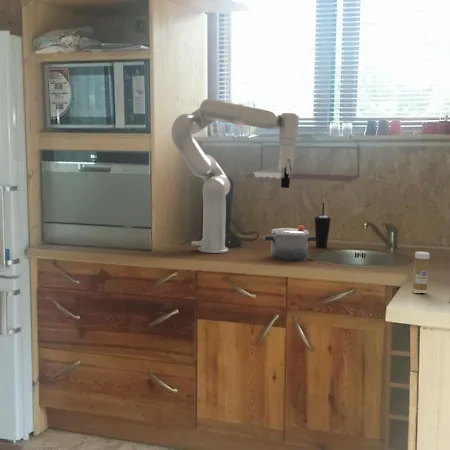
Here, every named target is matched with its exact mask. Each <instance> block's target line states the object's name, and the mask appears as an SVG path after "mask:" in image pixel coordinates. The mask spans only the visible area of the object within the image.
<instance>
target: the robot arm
mask: <svg viewBox="0 0 450 450" xmlns="http://www.w3.org/2000/svg"><path fill="white" fill-rule="evenodd" d="M216 121H217V122H222V123H227V124H231V125H239V126H240V125H243V126H248V127H249V126H250V127H253V128H254V127H255V128H260V129H265V130H277V129H279V133H278V135H279V136H278V146H279V147H280V150H279V156H278V167H277V168H278V170H280V171H281V178H280V179H281V181H280V188H281V189H282V188H283V189H285V188H286V189H289V188H290V183H291V182H290V180H291V176H290V175H291V174H290V173H291V172H292V171H293V169H294V160H295V159H294V158H295V157H294V155H295V148H297V147H298V136H299V123H300V116H299V114H298V112H293V111H282V112H280V111H275V110H271V109H264V108H260V107H259V108H258V107H254V106H249V105H244V104H242V103H237V102H230V101H226V100H220V99H214V98H206V99H204V100H202V102H201V104H200V105H199V108H198V109H196V110H194V111H193V112H191V113H184V114H180V115H178V117H176V119H175V120H174V121H173V123H172V127H171V133H170V134H171V139H172V142H173V144H174V146H175V148H176V149H177V151H178V152H179V154H180V155H181V157H182V159H183V160H184V162H185V163H186V164H187V166H188V168H189V170H190V171H191V173H192V174H193V176H195V177H197V178H201V180H202V181H203V185H202V201H203V202H202V203H203V205H202V207H203V209H202V213H203V214H202V215H203V217H202V239H201V240H196V241H193V240H191V246H192V247H198V251H199V252H202V253H208V254H222V253H228V252H229V248H228V247H226V221H227V219H226V217H227V214H226V213H227V204H226V203H227V199H226V195H228V194H229V192H230V189H231V182H230V180H229V178H228V177H227V175H226V173H225V172H224V171H223V169H222V168H221V166H220V165H219V163H218V162H217V160H216V159H215V158H214V157H213V156H212V155H209V154H206V153H205V152H204V151H203V149H202V148H201V147H200V145H199V143H198V142H197V141H196V139H195V138H194V136H193V135H195V134H197V133H199V132H201V131H203V130H204V129H206V128H207V127H208V126H210V125H211V124H214V123H215V122H216Z"/></svg>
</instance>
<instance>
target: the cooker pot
mask: <svg viewBox="0 0 450 450" xmlns="http://www.w3.org/2000/svg"><path fill="white" fill-rule="evenodd" d="M263 241H270V243H271V244H270V258H271V259H273V260H276V261H283V260H285V262H299V261H298V260H303V261H305V260H304V259H307V260H308V254H309V252H308V251H309V242H316V237H315V235H314V236H313V235H312V236H311V235H310V236H309V235H306V236H282V235H276V234H272V233H271V235H263Z"/></svg>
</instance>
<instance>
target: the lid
mask: <svg viewBox="0 0 450 450" xmlns="http://www.w3.org/2000/svg"><path fill="white" fill-rule="evenodd" d="M272 234H276V235H282V236H306V235H309V230H307V229H305V225H298V227H297V228H296V227H295V228H292V227H278V228H273V229H271V235H272Z"/></svg>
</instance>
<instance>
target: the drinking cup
mask: <svg viewBox="0 0 450 450" xmlns="http://www.w3.org/2000/svg"><path fill="white" fill-rule="evenodd" d="M321 210H322V211H321V214H317V215H314V216H313V218H314V232H315V233H314V236H315V237H316V241H315V247H316V248H318V249H319V248H321V249H324V248H325V249H327V246H328V240H329V232H330V227H331V219H332V216H329V215H328V214H324V213H325V202H322V209H321Z"/></svg>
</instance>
